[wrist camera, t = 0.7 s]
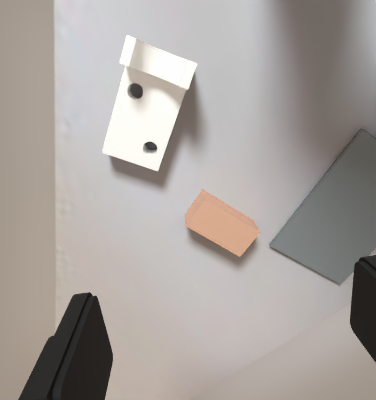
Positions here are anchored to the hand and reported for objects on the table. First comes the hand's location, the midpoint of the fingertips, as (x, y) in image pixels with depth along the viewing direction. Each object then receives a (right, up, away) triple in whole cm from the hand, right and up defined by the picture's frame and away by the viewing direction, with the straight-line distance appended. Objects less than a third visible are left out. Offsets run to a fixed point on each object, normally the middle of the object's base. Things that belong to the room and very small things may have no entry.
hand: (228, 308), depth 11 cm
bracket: (-6, +16, +28) cm, 33 cm away
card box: (+3, +2, +34) cm, 34 cm away
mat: (+22, +2, +34) cm, 41 cm away
